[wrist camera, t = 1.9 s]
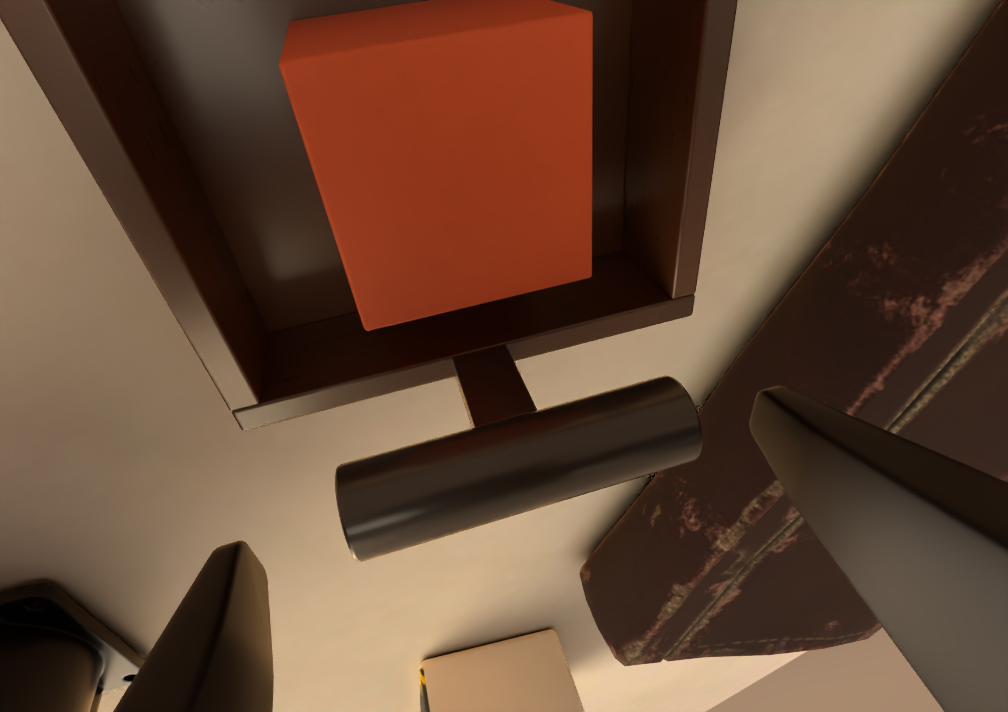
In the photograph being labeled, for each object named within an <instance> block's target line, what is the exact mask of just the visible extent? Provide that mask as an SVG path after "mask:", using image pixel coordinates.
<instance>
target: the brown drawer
mask: <svg viewBox="0 0 1008 712" xmlns="http://www.w3.org/2000/svg"><path fill="white" fill-rule="evenodd" d="M422 1H428V0H0V19H1V20H2V22H3V24H4V26H5V27H6V29H7V31H8V32H9V34H10V36H11V38H12V39H13V41H14V43H15V44H16V46H17V48H18V49H19V51H20V53H21V55H22V56H23V58H24V60H25V61H26V63H27V65H28V67H29V68H30V70H31V72H32V73H33V75H34V77H35V78H36V80H37V82H38V84H39V85H40V87H41V89H42V90H43V92H44V94H45V96H46V97H47V99H48V101H49V102H50V104H51V106H52V107H53V109H54V111H55V113H56V114H57V116H58V118H59V119H60V121H61V123H62V125H63V126H64V128H65V130H66V131H67V133H68V135H69V137H70V138H71V140H72V142H73V143H74V145H75V147H76V148H77V150H78V152H79V154H80V155H81V157H82V159H83V160H84V162H85V164H86V166H87V167H88V169H89V171H90V172H91V174H92V176H93V177H94V179H95V181H96V183H97V184H98V186H99V188H100V189H101V191H102V193H103V195H104V196H105V198H106V200H107V201H108V203H109V205H110V206H111V208H112V210H113V212H114V213H115V215H116V217H117V218H118V220H119V222H120V224H121V225H122V227H123V229H124V230H125V232H126V234H127V236H128V237H129V239H130V241H131V242H132V244H133V246H134V247H135V249H136V251H137V253H138V254H139V256H140V258H141V259H142V261H143V263H144V265H145V266H146V268H147V270H148V271H149V273H150V275H151V276H152V278H153V280H154V282H155V283H156V285H157V287H158V288H159V290H160V292H161V294H162V295H163V297H164V299H165V300H166V302H167V304H168V305H169V307H170V309H171V311H172V312H173V314H174V316H175V317H176V319H177V321H178V323H179V324H180V326H181V328H182V329H183V331H184V333H185V334H186V336H187V338H188V340H189V341H190V343H191V345H192V346H193V348H194V350H195V352H196V353H197V355H198V357H199V358H200V360H201V362H202V364H203V365H204V367H205V369H206V370H207V372H208V374H209V375H210V377H211V379H212V381H213V382H214V384H215V386H216V387H217V389H218V391H219V393H220V394H221V396H222V398H223V399H224V401H225V403H226V404H227V406H228V408H229V410H232V414H233V416H234V417H235V419H236V421H237V422H238V424H239V426H240V427H241V429H242V430H249V429H253V428H257V427H261V426H265V425H268V424H272V423H276V422H280V421H284V420H288V419H292V418H296V417H299V416H303V415H307V414H311V413H315V412H319V411H323V410H326V409H330V408H334V407H338V406H342V405H346V404H350V403H354V402H357V401H361V400H365V399H369V398H373V397H377V396H381V395H385V394H388V393H392V392H396V391H400V390H404V389H408V388H412V387H416V386H419V385H423V384H427V383H431V382H435V381H439V380H443V379H447V378H450V377H454V376H455V377H456V380H457V383H458V386H459V389H460V392H461V395H462V398H463V401H464V404H465V407H466V410H467V413H468V416H469V420H470V423H471V426H472V429H468V430H464V431H461V432H457V433H453V434H450V435H446V436H442V437H439V438H435V439H432V440H428V441H424V442H421V443H417V444H413V445H410V446H406V447H402V448H399V449H395V450H391V451H388V452H384V453H381V454H377V455H373V456H370V457H366V458H362V459H359V460H355V461H351V462H348V463H344V464H341V465H339V466H338V467H337V469H336V474H335V492H336V500H337V506H338V512H339V517H340V521H341V525H342V529H343V532H344V536H345V539H346V542H347V544H348V547H349V549H350V551H351V553H352V555H353V556H354V558H355V559H356V560H357V561H361V562H362V561H365V560H369V559H372V558H375V557H379V556H382V555H385V554H388V553H392V552H395V551H398V550H402V549H405V548H408V547H412V546H415V545H418V544H421V543H425V542H428V541H431V540H435V539H438V538H441V537H445V536H448V535H451V534H454V533H458V532H461V531H464V530H468V529H471V528H474V527H478V526H481V525H484V524H487V523H491V522H494V521H497V520H501V519H504V518H507V517H511V516H514V515H517V514H520V513H524V512H527V511H530V510H534V509H537V508H540V507H544V506H547V505H550V504H553V503H557V502H560V501H563V500H567V499H570V498H573V497H577V496H580V495H583V494H586V493H590V492H593V491H596V490H600V489H603V488H606V487H610V486H613V485H616V484H619V483H623V482H626V481H629V480H633V479H636V478H639V477H643V476H646V475H649V474H652V473H656V472H659V471H662V470H666V469H669V468H672V467H676V466H679V465H682V464H685V463H689V462H692V461H694V460H696V459H697V458H698V456H699V455H700V453H701V449H702V430H701V425H700V421H699V417H698V414H697V411H696V409H695V406H694V404H693V402H692V400H691V398H690V396H689V394H688V393H687V391H686V390H685V388H684V387H683V386H682V385H681V384H680V383H679V382H678V381H677V380H676V379H674V378H673V377H670V376H661V377H657V378H654V379H650V380H647V381H643V382H639V383H636V384H632V385H628V386H625V387H621V388H617V389H614V390H610V391H606V392H603V393H599V394H596V395H592V396H588V397H585V398H581V399H577V400H574V401H570V402H566V403H563V404H559V405H555V406H552V407H548V408H544V409H541V410H537V408H536V406H535V404H534V402H533V400H532V398H531V396H530V394H529V392H528V389H527V387H526V385H525V383H524V381H523V379H522V377H521V375H520V373H519V371H518V369H517V367H516V364H515V362H514V361H516V360H520V359H524V358H528V357H532V356H536V355H539V354H543V353H547V352H551V351H555V350H559V349H563V348H567V347H570V346H574V345H578V344H582V343H586V342H590V341H594V340H598V339H601V338H605V337H609V336H613V335H617V334H621V333H625V332H629V331H632V330H636V329H640V328H644V327H648V326H652V325H656V324H660V323H663V322H667V321H671V320H675V319H679V318H683V317H687V316H690V315H692V312H693V305H694V298H695V296H694V293H695V291H696V284H697V277H698V270H699V264H700V257H701V250H702V243H703V236H704V229H705V222H706V215H707V208H708V201H709V195H710V188H711V181H712V174H713V167H714V160H715V153H716V146H717V139H718V132H719V126H720V119H721V112H722V105H723V98H724V91H725V84H726V77H727V70H728V64H729V57H730V50H731V43H732V36H733V29H734V22H735V15H736V8H737V1H738V0H550V1H554V2H558V3H562V4H565V5H569V6H573V7H577V8H581V9H584V10H588V11H591V12H592V15H593V99H592V276H591V277H590V278H587V279H583V280H579V281H574V282H570V283H566V284H562V285H558V286H553V287H549V288H545V289H541V290H537V291H533V292H528V293H524V294H520V295H516V296H512V297H508V298H503V299H499V300H495V301H491V302H487V303H482V304H478V305H474V306H470V307H466V308H462V309H457V310H453V311H449V312H445V313H441V314H436V315H432V316H428V317H424V318H420V319H416V320H411V321H407V322H403V323H399V324H395V325H391V326H386V327H382V328H378V329H374V330H370V331H366V330H365V329H364V327H363V324H362V321H361V318H360V315H359V312H358V309H357V305H356V302H355V299H354V296H353V293H352V290H351V287H350V284H349V281H348V278H347V275H346V272H345V268H344V265H343V262H342V259H341V256H340V253H339V250H338V247H337V244H336V241H335V238H334V235H333V231H332V228H331V225H330V222H329V219H328V216H327V213H326V210H325V207H324V204H323V201H322V198H321V194H320V191H319V188H318V185H317V182H316V179H315V176H314V173H313V170H312V167H311V164H310V161H309V157H308V154H307V151H306V148H305V145H304V142H303V139H302V136H301V133H300V130H299V127H298V123H297V120H296V117H295V114H294V111H293V108H292V105H291V102H290V99H289V96H288V93H287V90H286V86H285V83H284V80H283V77H282V74H281V71H280V68H279V61H280V57H281V53H282V49H283V45H284V41H285V37H286V34H287V30H288V26H289V23H290V22H291V21H295V20H302V19H308V18H315V17H322V16H328V15H335V14H342V13H348V12H355V11H362V10H368V9H375V8H382V7H388V6H395V5H402V4H408V3H415V2H422Z"/></svg>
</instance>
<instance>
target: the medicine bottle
mask: <svg viewBox="0 0 1008 712" xmlns="http://www.w3.org/2000/svg"><path fill="white" fill-rule="evenodd" d="M419 674H420V706H421V712H584V709H583V706H582V703H581V700H580V697H579V695H578V692H577V689H576V686H575V683H574V680H573V677H572V675H571V672H570V669H569V666H568V663H567V660H566V658H565V655H564V652H563V649H562V646H561V643H560V641H559V638H558V635H557V633H556V632H555V631H554V630H552V629H549V630H545V631H541V632H537V633H533V634H529V635H524V636H520V637H516V638H512V639H508V640H504V641H500V642H496V643H492V644H488V645H484V646H480V647H476V648H472V649H468V650H464V651H460V652H456V653H451V654H447V655H443V656H439V657H435V658H431V659H427V660H424V661H423V662H422V663H421V665H420V669H419Z"/></svg>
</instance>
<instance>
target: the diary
mask: <svg viewBox="0 0 1008 712" xmlns="http://www.w3.org/2000/svg"><path fill="white" fill-rule="evenodd" d="M774 386H784V387H787V388H789V389H791V390H794V391H796V392H798V393H801V394H803V395H805V396H808V397H810V398H812V399H815V400H817V401H819V402H822V403H824V404H826V405H829V406H831V407H833V408H836V409H838V410H840V411H843V412H845V413H847V414H850V415H852V416H854V417H857V418H859V419H861V420H864V421H866V422H868V423H870V424H873V425H875V426H877V427H880V428H882V429H884V430H887V431H889V432H891V433H894V434H896V435H898V436H901V437H903V438H905V439H908V440H910V441H912V442H915V443H917V444H919V445H922V446H924V447H926V448H929V449H931V450H933V451H936V452H938V453H940V454H943V455H945V456H947V457H950V458H952V459H954V460H956V461H959V462H961V463H963V464H966V465H968V466H970V467H973V468H975V469H977V470H980V471H982V472H984V473H987V474H989V475H991V476H994V477H996V478H998V479H1001V480H1003V481H1005V482H1008V0H1002V1H1001V2H1000V4H999V5H998V7H997V8H996V9H995V11H994V12H993V14H992V15H991V16H990V18H989V19H988V21H987V22H986V24H985V25H984V26H983V28H982V29H981V31H980V32H979V33H978V35H977V36H976V38H975V39H974V40H973V42H972V43H971V45H970V46H969V48H968V49H967V50H966V52H965V53H964V55H963V56H962V57H961V59H960V60H959V62H958V63H957V65H956V66H955V67H954V69H953V70H952V72H951V73H950V74H949V76H948V77H947V79H946V80H945V81H944V83H943V84H942V86H941V87H940V89H939V90H938V91H937V93H936V94H935V96H934V97H933V98H932V100H931V101H930V103H929V104H928V106H927V107H926V108H925V110H924V111H923V113H922V114H921V115H920V117H919V118H918V120H917V121H916V122H915V124H914V125H913V127H912V128H911V130H910V131H909V132H908V134H907V135H906V137H905V138H904V139H903V141H902V142H901V144H900V145H899V146H898V148H897V149H896V151H895V152H894V154H893V155H892V156H891V158H890V159H889V161H888V162H887V163H886V165H885V166H884V168H883V169H882V171H881V172H880V173H879V175H878V176H877V178H876V179H875V180H874V182H873V183H872V185H871V186H870V187H869V189H868V190H867V192H866V193H865V195H864V196H863V197H862V198H861V200H860V201H859V202H858V204H857V205H856V206H855V207H854V209H853V210H852V211H851V212H850V214H849V215H848V216H847V218H846V219H845V220H844V221H843V223H842V224H841V225H840V226H839V228H838V229H837V230H836V232H835V233H834V234H833V235H832V237H831V238H830V239H829V241H828V242H827V243H826V244H825V246H824V247H823V248H822V249H821V251H820V252H819V253H818V255H817V256H816V257H815V258H814V260H813V261H812V262H811V263H810V265H809V266H808V267H807V269H806V270H805V271H804V272H803V274H802V275H801V276H800V278H799V279H798V280H797V281H796V283H795V284H794V285H793V286H792V288H791V289H790V290H789V292H788V293H787V294H786V295H785V297H784V298H783V299H782V300H781V302H780V303H779V304H778V306H777V307H776V308H775V309H774V311H773V312H772V313H771V315H770V316H769V317H768V318H767V320H766V321H765V322H764V323H763V325H762V326H761V327H760V329H759V330H758V331H757V332H756V334H755V335H754V336H753V337H752V339H751V340H750V341H749V343H748V344H747V345H746V346H745V348H744V349H743V350H742V352H741V353H740V354H739V355H738V357H737V358H736V360H735V361H734V362H733V364H732V365H731V367H730V368H729V370H728V371H727V373H726V374H725V375H724V377H723V378H722V380H721V381H720V383H719V384H718V386H717V387H716V389H715V390H714V391H713V393H712V394H711V396H710V397H709V399H708V400H707V402H706V403H705V404H704V406H703V407H702V409H701V410H700V412H699V413H698V417H699V421H700V425H701V430H702V449H701V453H700V455H699V456H698V458H697V459H696V460H694V461H692V462H689V463H685V464H682V465H679V466H676V467H672V468H669V469H666V470H662V471H659V472H658V473H657V474H656V475H655V477H654V478H653V479H652V480H651V482H650V483H649V484H648V485H647V487H646V488H645V489H644V490H643V491H642V493H641V494H640V495H639V496H638V498H637V499H636V500H635V501H634V502H633V504H632V505H631V506H630V507H629V509H628V510H627V511H626V512H625V514H624V515H623V516H622V517H621V518H620V520H619V521H618V522H617V523H616V525H615V526H614V527H613V528H612V530H611V531H610V532H609V533H608V534H607V536H606V537H605V538H604V539H603V541H602V542H601V543H600V544H599V545H598V547H597V548H596V549H595V550H594V552H593V553H592V554H591V555H590V557H589V558H588V559H587V561H586V562H585V564H584V565H583V566H582V568H581V571H580V578H581V582H582V586H583V590H584V593H585V597H586V601H587V603H588V605H589V608H590V610H591V613H592V615H593V617H594V620H595V622H596V625H597V627H598V629H599V631H600V632H601V634H602V636H603V638H604V639H605V641H606V643H607V645H608V646H609V648H610V650H611V652H612V653H613V655H614V657H615V658H616V659H617V660H618V661H619V662H621V663H622V664H623V665H624V666H630V665H639V664H648V663H657V662H661V661H662V660H663V659H664V660H666V661H675V660H684V659H693V658H702V657H723V656H753V655H774V654H782V653H791V652H799V651H808V650H816V649H824V648H828V647H833V646H838V645H842V644H847V643H851V642H856V641H860V640H865V639H868V638H869V637H870V636H872V635H873V634H874V633H876V632H877V631H878V630H879V629H881V628H882V626H881V624H880V623H879V621H878V620H877V619H876V617H875V616H874V615H873V613H872V612H871V611H870V609H869V608H868V606H867V605H866V604H865V602H864V601H863V600H862V598H861V597H860V596H859V594H858V593H857V591H856V590H855V589H854V587H853V586H852V585H851V583H850V582H849V580H848V579H847V578H846V576H845V575H844V574H843V572H842V571H841V570H840V568H839V567H838V565H837V564H836V563H835V561H834V560H833V559H832V557H831V556H830V555H829V553H828V552H827V550H826V549H825V548H824V546H823V545H822V544H821V542H820V541H819V540H818V538H817V537H816V535H815V534H814V533H813V531H812V530H811V529H810V527H809V526H808V524H807V523H806V522H805V520H804V519H803V518H802V516H801V515H800V513H799V512H798V511H797V509H796V508H795V506H794V505H793V503H792V502H791V500H790V498H789V497H788V495H787V494H786V492H785V490H784V488H783V487H782V485H781V483H780V482H779V480H778V478H777V476H776V475H775V473H774V471H773V470H772V468H771V466H770V464H769V463H768V461H767V459H766V458H765V456H764V454H763V453H762V451H761V449H760V447H759V446H758V444H757V442H756V441H755V439H754V437H753V435H752V433H751V430H750V426H749V421H750V417H751V413H752V410H753V406H754V402H755V398H756V395H757V394H758V392H759V391H761V390H764V389H768V388H771V387H774Z"/></svg>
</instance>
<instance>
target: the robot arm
mask: <svg viewBox="0 0 1008 712" xmlns="http://www.w3.org/2000/svg"><path fill="white" fill-rule="evenodd" d="M749 426H750V430H751V433H752V435H753V437H754V439H755V441H756V442H757V444H758V446H759V447H760V449H761V451H762V453H763V454H764V456H765V458H766V459H767V461H768V463H769V464H770V466H771V468H772V470H773V471H774V473H775V475H776V476H777V478H778V480H779V482H780V483H781V485H782V487H783V488H784V490H785V492H786V494H787V495H788V497H789V498H790V500H791V502H792V503H793V505H794V506H795V508H796V509H797V511H798V512H799V513H800V515H801V516H802V518H803V519H804V520H805V522H806V523H807V524H808V526H809V527H810V529H811V530H812V531H813V533H814V534H815V535H816V537H817V538H818V540H819V541H820V542H821V544H822V545H823V546H824V548H825V549H826V550H827V552H828V553H829V555H830V556H831V557H832V559H833V560H834V561H835V563H836V564H837V565H838V567H839V568H840V570H841V571H842V572H843V574H844V575H845V576H846V578H847V579H848V580H849V582H850V583H851V585H852V586H853V587H854V589H855V590H856V591H857V593H858V594H859V596H860V597H861V598H862V600H863V601H864V602H865V604H866V605H867V606H868V608H869V609H870V611H871V612H872V613H873V615H874V616H875V617H876V619H877V620H878V621H879V623H880V624H881V626H882V627H883V628H884V630H885V631H886V632H887V633H888V635H889V637H890V638H891V639H892V640H893V642H894V643H895V645H896V646H897V647H898V649H899V650H900V652H901V653H902V654H903V656H904V657H905V658H906V660H907V661H908V662H909V664H910V665H911V667H912V668H913V669H914V671H915V672H916V673H917V675H918V676H919V678H920V679H921V680H922V682H923V683H924V684H925V686H926V687H927V688H928V690H929V691H930V692H931V694H932V695H933V697H934V698H935V699H936V701H937V702H938V703H939V705H940V706H941V708H942V709H943V710H944V712H1008V482H1005V481H1003V480H1001V479H998V478H996V477H994V476H991V475H989V474H987V473H984V472H982V471H980V470H977V469H975V468H973V467H970V466H968V465H966V464H963V463H961V462H959V461H956V460H954V459H952V458H950V457H947V456H945V455H943V454H940V453H938V452H936V451H933V450H931V449H929V448H926V447H924V446H922V445H919V444H917V443H915V442H912V441H910V440H908V439H905V438H903V437H901V436H898V435H896V434H894V433H891V432H889V431H887V430H884V429H882V428H880V427H877V426H875V425H873V424H870V423H868V422H866V421H864V420H861V419H859V418H857V417H854V416H852V415H850V414H847V413H845V412H843V411H840V410H838V409H836V408H833V407H831V406H829V405H826V404H824V403H822V402H819V401H817V400H815V399H812V398H810V397H808V396H805V395H803V394H801V393H798V392H796V391H794V390H791V389H789V388H787V387H784V386H774V387H771V388H768V389H764V390H761V391H759V392H758V394H757V395H756V398H755V402H754V406H753V410H752V413H751V417H750V421H749ZM273 678H274V675H273V655H272V641H271V626H270V611H269V596H268V582H267V575H266V572H265V569H264V567H263V565H262V564H261V563H260V561H259V560H258V558H257V557H256V556H255V554H254V553H253V551H252V550H251V548H250V547H249V546H248V544H247V543H246V542H244V541H237V542H234V543H230V544H227V545H223V546H220V547H218V548H216V549H215V550H214V551H213V552H212V553H211V555H210V557H209V558H208V560H207V561H206V563H205V565H204V566H203V568H202V569H201V571H200V573H199V574H198V576H197V578H196V579H195V581H194V582H193V584H192V586H191V587H190V589H189V590H188V592H187V594H186V595H185V597H184V598H183V600H182V602H181V603H180V605H179V607H178V608H177V610H176V611H175V613H174V615H173V616H172V618H171V619H170V621H169V623H168V624H167V626H166V628H165V629H164V631H163V632H162V634H161V636H160V637H159V639H158V640H157V642H156V644H155V645H154V647H153V648H152V650H151V652H150V653H149V655H148V657H147V658H146V660H145V659H144V658H142V657H141V656H140V655H139V654H138V653H136V652H135V651H134V650H133V649H131V648H130V647H129V646H128V645H127V644H125V643H124V642H123V641H122V640H120V639H119V638H118V637H117V636H116V635H114V634H113V633H112V632H111V631H109V630H108V629H107V628H106V627H105V626H103V625H102V624H101V623H100V622H99V621H97V620H96V619H95V618H94V617H92V616H91V615H90V614H89V613H88V612H86V611H85V610H84V609H83V608H81V607H80V606H79V605H78V604H77V603H75V602H74V601H73V600H72V599H70V598H69V597H68V596H67V595H66V594H64V593H63V592H62V591H61V590H60V589H58V588H57V587H55V586H53V585H48V584H34V585H29V586H25V587H22V588H18V589H15V590H11V591H8V592H4V593H1V594H0V712H97V710H98V707H99V703H100V699H101V696H102V695H103V694H106V693H109V692H112V691H116V690H119V689H122V688H125V687H128V686H129V687H128V689H127V690H126V692H125V694H124V695H123V697H122V698H121V700H120V702H119V703H118V705H117V707H116V708H115V710H114V711H113V712H272V708H273Z"/></svg>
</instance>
